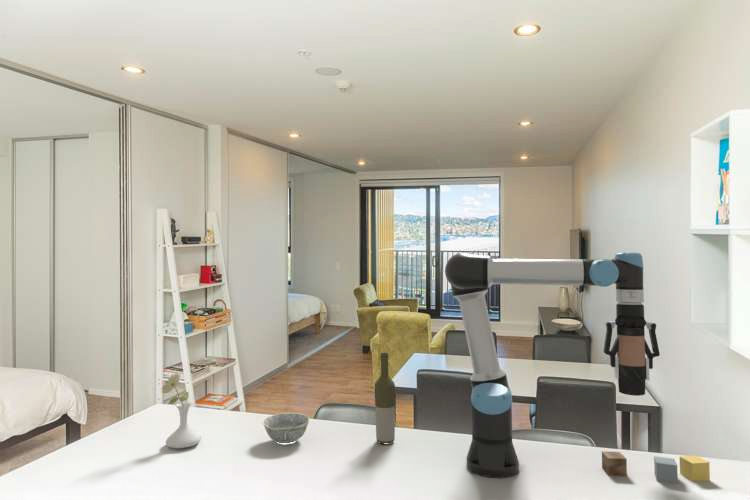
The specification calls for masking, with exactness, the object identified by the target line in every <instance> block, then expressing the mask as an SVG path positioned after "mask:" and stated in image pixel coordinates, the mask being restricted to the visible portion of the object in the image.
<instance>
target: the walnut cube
mask: <svg viewBox="0 0 750 500" xmlns="http://www.w3.org/2000/svg"><path fill="white" fill-rule="evenodd" d="M601 468H602V470H603V471H604V473H605V474H606V475H607V476H608V477H609V476H610V477H628V473H627V472H628V469H627V468H628V465H627V457H625V456H624V455H623V453H621V451H606V450H605V451H603V450H602V451H601Z"/></svg>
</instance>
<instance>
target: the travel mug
mask: <svg viewBox="0 0 750 500" xmlns="http://www.w3.org/2000/svg"><path fill="white" fill-rule="evenodd" d="M616 338H617V339H618V338H619V349H618V351H617V353H616V356H617V357H618V367H619V379H617V384H618V392H619V393H620V394H622V395H626V396H636V397H637V396H644V395H646V379H645V372H646V366H645V365H646V362H645V357H646V353H645V340H646V336H645V327H643V328H625V327H619V326H617V325H616Z"/></svg>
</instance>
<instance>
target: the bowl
mask: <svg viewBox="0 0 750 500" xmlns="http://www.w3.org/2000/svg"><path fill="white" fill-rule="evenodd" d="M310 420H311V419H310V416H308V415H306V414H304V413H299V412H285V413H284V412H283V413H278V414H273V415H269V416H267V417H266V418H264V419H263V421H262V425H263V427H264V429H265V431H266V433H267V435H268V437H269V438H270V439H271V440H273V441H274V442H279V443H290V442H294V441H296V440H297V441H299V440H300V439H301V438H302V437H303V436H304V434H305V433H306V431H307V428H308V424H309V422H310Z"/></svg>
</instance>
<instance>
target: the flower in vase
mask: <svg viewBox="0 0 750 500" xmlns="http://www.w3.org/2000/svg"><path fill="white" fill-rule="evenodd" d="M180 379H181V373H178V372H175V373H174V374H171V375H170V377H169V378H168V379H167V380H165V382H164V385H163V386H162V388H161V390H162V391H161V393H163V394H169V393H170V392H172V391H173V390H174V389H175V392H176V393H177V394H176V395H177V396H175V397H173V398H171V399H170V401H168V405H174V404H175V403H176V402H177V401H178V400H179V401H180V402H179V403H177V404H175V407H176V408H177V409H178V412H179V426H178V427H177V429H176V430H175V431H173V432H172V433H171V434H170V435H169V436H168V437H167V438H166V440H165V445H166V446H167V447H168V448H171V449H185V447H186V448H190V447H193V446H195V445H197V444H199V443H200V442H201V440H202V435H201V434H200V433H199V432H198V431H196V430H195V429H193V428H191V426H189V423H188V413H189V409H190V407H192V402H189V401H187V402H186V400H188V399H189V397H190V395H189V394H190V393H189V391H187V392H185V393H183V394H182V395H181V396H180V395H179V392H178V389H177V385H178V384H179V382H180Z"/></svg>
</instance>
